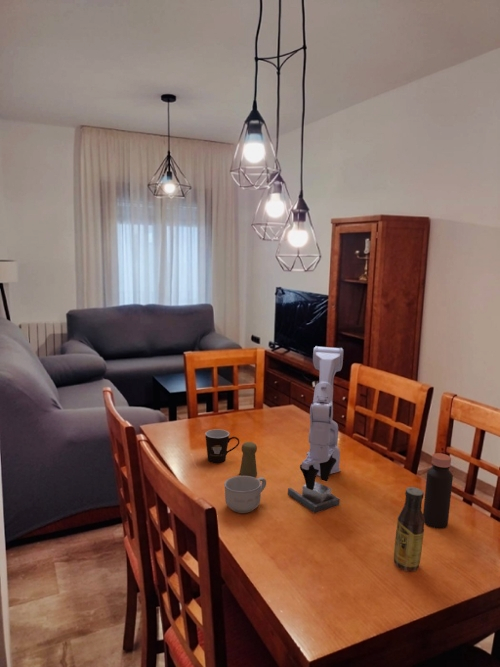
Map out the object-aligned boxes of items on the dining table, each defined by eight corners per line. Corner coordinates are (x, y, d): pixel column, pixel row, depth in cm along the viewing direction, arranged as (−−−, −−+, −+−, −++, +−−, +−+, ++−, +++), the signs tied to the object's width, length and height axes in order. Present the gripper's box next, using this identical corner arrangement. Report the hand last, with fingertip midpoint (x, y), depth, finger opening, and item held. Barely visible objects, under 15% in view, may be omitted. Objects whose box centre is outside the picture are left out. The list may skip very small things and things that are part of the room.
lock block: (310, 495, 153) (311, 480, 152) (330, 503, 148) (331, 488, 147) (301, 500, 149) (301, 485, 148) (320, 509, 144) (321, 493, 143)
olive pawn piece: (255, 479, 162) (256, 447, 160) (237, 476, 163) (238, 445, 162) (258, 471, 168) (259, 441, 166) (241, 469, 169) (242, 439, 167)
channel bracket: (311, 487, 158) (311, 481, 157) (339, 505, 147) (339, 499, 146) (287, 494, 152) (288, 488, 152) (314, 513, 142) (315, 507, 141)
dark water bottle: (417, 521, 139) (423, 455, 136) (431, 514, 143) (437, 449, 140) (439, 532, 134) (446, 463, 131) (452, 524, 138) (459, 458, 135)
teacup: (233, 520, 136) (234, 494, 135) (217, 503, 146) (218, 477, 145) (276, 510, 143) (277, 484, 141) (258, 493, 152) (259, 469, 151)
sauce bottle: (389, 557, 122) (395, 483, 119) (413, 557, 122) (420, 483, 119) (399, 574, 115) (406, 496, 112) (424, 574, 116) (432, 496, 113)
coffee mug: (200, 462, 174) (201, 435, 172) (211, 453, 182) (211, 427, 180) (230, 468, 170) (230, 441, 168) (239, 459, 177) (240, 433, 176)
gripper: (322, 432, 153) (319, 472, 155) (294, 444, 143) (292, 487, 145) (341, 438, 149) (338, 480, 151) (314, 451, 138) (311, 496, 140)
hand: (317, 484), depth 148 cm, fingers open, 7 cm apart
